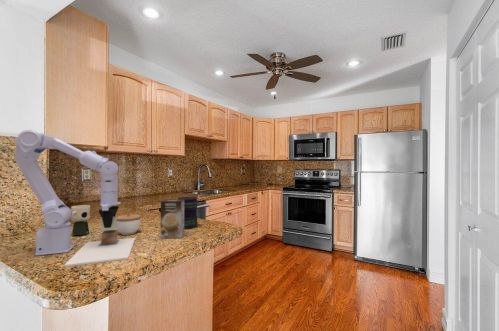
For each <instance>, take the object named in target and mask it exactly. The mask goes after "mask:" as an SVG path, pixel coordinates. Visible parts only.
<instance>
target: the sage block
mask: <svg viewBox="0 0 499 331" xmlns="http://www.w3.org/2000/svg"><path fill="white" fill-rule="evenodd" d="M117 217H118V216H117V215H115V216H113V220H112V225H111V227H110V228H104V224H103V220H102V219H101V232H103V231H107V230H117V229H116V228H117Z"/></svg>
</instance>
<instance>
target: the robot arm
mask: <svg viewBox="0 0 499 331" xmlns="http://www.w3.org/2000/svg"><path fill="white" fill-rule="evenodd" d="M14 143H15V150H14V151H15V152H14V162H15V163H16V165H17V166H18V168H19V170H20V172H21V173H22V175H23V177H24V178H25V180H26V182H27V183H28V185H29V186H30V188H31V190H32V192H33V193H34V195H35V196H36V198H37V199H38V202H39V203H40V205H41V213H42V216H43V224H44V225H45V226H44V227H40V228H38V230H37V231H36V236H35V254H34V256H45V255H54V254H55V255H56V254H62V253H63V254H65V253H68V252H69V251H71V249H73V248H74V247H75V246H76V245H75V244H72V243H71V242H72V239H71V238H72V226H71V225H72V223H71V221H70V220H71V217H72V210H71V208H70V207H69V206H67V205H66V204H65V203H64V201H63V200H62V199H60V197H59V196H58V195H57V193H56V191H55V190H54V188H53V187H52V185H51V183H50V180H48V177H47V176H46V175H45V172H44V171H43V169H42V167H41V165H40V163H38V161H37V160H38V158H39V157H40V156H41V154H42V153H43V152H45V150H47V149H49V150H58V151H60V152H62V153H64V154H68V155H70V156H72V157H74V158H76V159H77V160H78V161H79V164H81V165H83V166H85V167H87V168H89V169H92V170H94V171H96V172H99V173H100V174H101V178H100V204H99V206H101V209H99V210H98V213H99V215H100V218H101V221H102V220H103V224H104V228H110V227H111V225H112V220H113V216H117V212H118V209H119V208H120V206H119V205H121V204H122V202H121V201H118V200H119V199H118V196H119V195H118V191H119V189H118V187H119V186H118V181H119V180H118V174H117V173H118V171H119V166H118V164H117V163H116V162H114V161H113V160H109V158H108V157H103V156H101V155H99V154H98V153H97V151H94V150H92V151H91V150H85V151H82V150H81V149H79V148H78V147H75V146H74V145H72V144H69V143H68V142H66V141H63V140H61V139H59V138H57V137H54V136H50V135H48V134H45V133H41V132H38V131H36V130H34V129H25V130H22V131H21V132H20V133H19V134H18V135H17V137H16V138H15V139H14Z"/></svg>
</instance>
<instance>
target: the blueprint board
mask: <svg viewBox="0 0 499 331" xmlns="http://www.w3.org/2000/svg"><path fill="white" fill-rule="evenodd" d="M135 241H136V237H128V238H127V237H126V238H117V241H116V243H115V244H111V245H101V240H97V241H88V242H85V243H84V245H83V246H82V247H81V248H79V249H78V250H77V251H76V253H74V254H73V255H72V256H71V258H70V259H68V260H67V261H66V263H65V264H63V268H68V267H74V266H75V267H76V266H83V265H84V266H85V265H91V264H101V263H107V262H108V263H109V262H115V261H124V260H129V257H130V255H131V252H132V249H133V247H134V244H135Z"/></svg>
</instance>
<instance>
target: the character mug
mask: <svg viewBox="0 0 499 331" xmlns="http://www.w3.org/2000/svg"><path fill="white" fill-rule="evenodd" d="M70 209H71V210H72V217H71V219H70V220H71V221H70V222H74V223H73V225H72V230H71V235H73V236H74V235H75V236H82V235H83V236H84V235H87V234H89V233H90V227H89V222H88V220H90V219H91V205H90V204H81V205H79V204H78V205H72V206H71V208H70Z"/></svg>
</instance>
